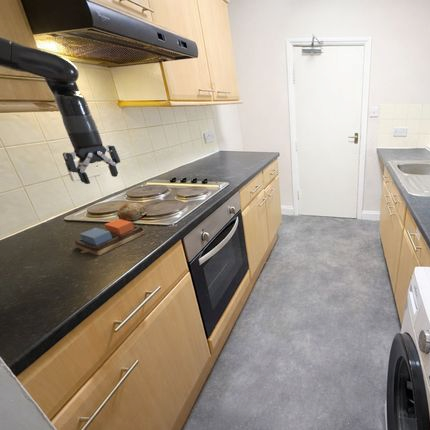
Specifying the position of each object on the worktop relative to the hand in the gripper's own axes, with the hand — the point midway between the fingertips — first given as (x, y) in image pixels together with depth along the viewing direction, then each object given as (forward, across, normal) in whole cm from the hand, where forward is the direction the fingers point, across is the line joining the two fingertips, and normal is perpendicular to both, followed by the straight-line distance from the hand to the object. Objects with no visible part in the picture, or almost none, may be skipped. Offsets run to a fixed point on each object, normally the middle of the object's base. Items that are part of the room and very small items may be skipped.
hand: (101, 179), depth 90 cm
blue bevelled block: (+21, +8, 0) cm, 22 cm away
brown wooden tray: (+22, +4, 0) cm, 22 cm away
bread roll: (+22, -12, -13) cm, 28 cm away
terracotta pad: (+20, 0, 0) cm, 20 cm away
